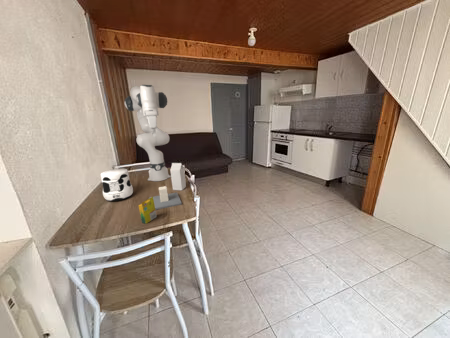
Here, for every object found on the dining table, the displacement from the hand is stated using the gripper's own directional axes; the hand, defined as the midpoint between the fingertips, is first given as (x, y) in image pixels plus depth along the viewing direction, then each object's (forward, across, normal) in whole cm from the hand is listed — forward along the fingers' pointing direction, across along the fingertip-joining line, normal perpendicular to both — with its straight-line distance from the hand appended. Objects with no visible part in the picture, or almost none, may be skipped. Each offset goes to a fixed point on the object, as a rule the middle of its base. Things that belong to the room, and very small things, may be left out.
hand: (154, 135), depth 119 cm
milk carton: (+39, -2, +12) cm, 41 cm away
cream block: (+38, +16, 0) cm, 41 cm away
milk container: (+39, -5, -27) cm, 48 cm away
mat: (+39, +16, 0) cm, 42 cm away
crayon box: (+39, +35, -9) cm, 53 cm away
